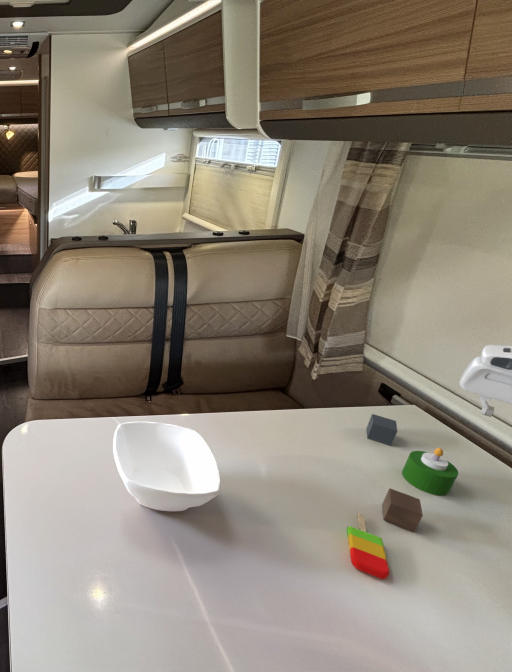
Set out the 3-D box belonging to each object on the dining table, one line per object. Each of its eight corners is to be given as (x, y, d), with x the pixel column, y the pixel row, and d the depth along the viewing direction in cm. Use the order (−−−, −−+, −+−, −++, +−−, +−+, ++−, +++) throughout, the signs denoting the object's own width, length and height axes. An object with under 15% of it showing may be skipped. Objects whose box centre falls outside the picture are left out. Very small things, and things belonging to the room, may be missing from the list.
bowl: (112, 526, 91) (117, 486, 87) (106, 452, 111) (110, 416, 107) (222, 542, 87) (233, 501, 83) (196, 463, 108) (203, 426, 103)
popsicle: (351, 567, 82) (354, 561, 82) (343, 511, 94) (345, 505, 93) (388, 583, 80) (391, 576, 79) (375, 523, 91) (377, 516, 91)
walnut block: (411, 516, 93) (419, 499, 91) (414, 532, 89) (423, 515, 87) (382, 504, 95) (389, 488, 94) (383, 520, 92) (390, 503, 90)
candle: (407, 463, 107) (421, 431, 103) (452, 484, 100) (469, 450, 97) (397, 478, 102) (411, 446, 98) (444, 501, 96) (462, 467, 92)
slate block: (389, 435, 116) (396, 420, 114) (391, 446, 112) (397, 431, 110) (366, 428, 119) (372, 413, 117) (367, 438, 115) (372, 423, 113)
